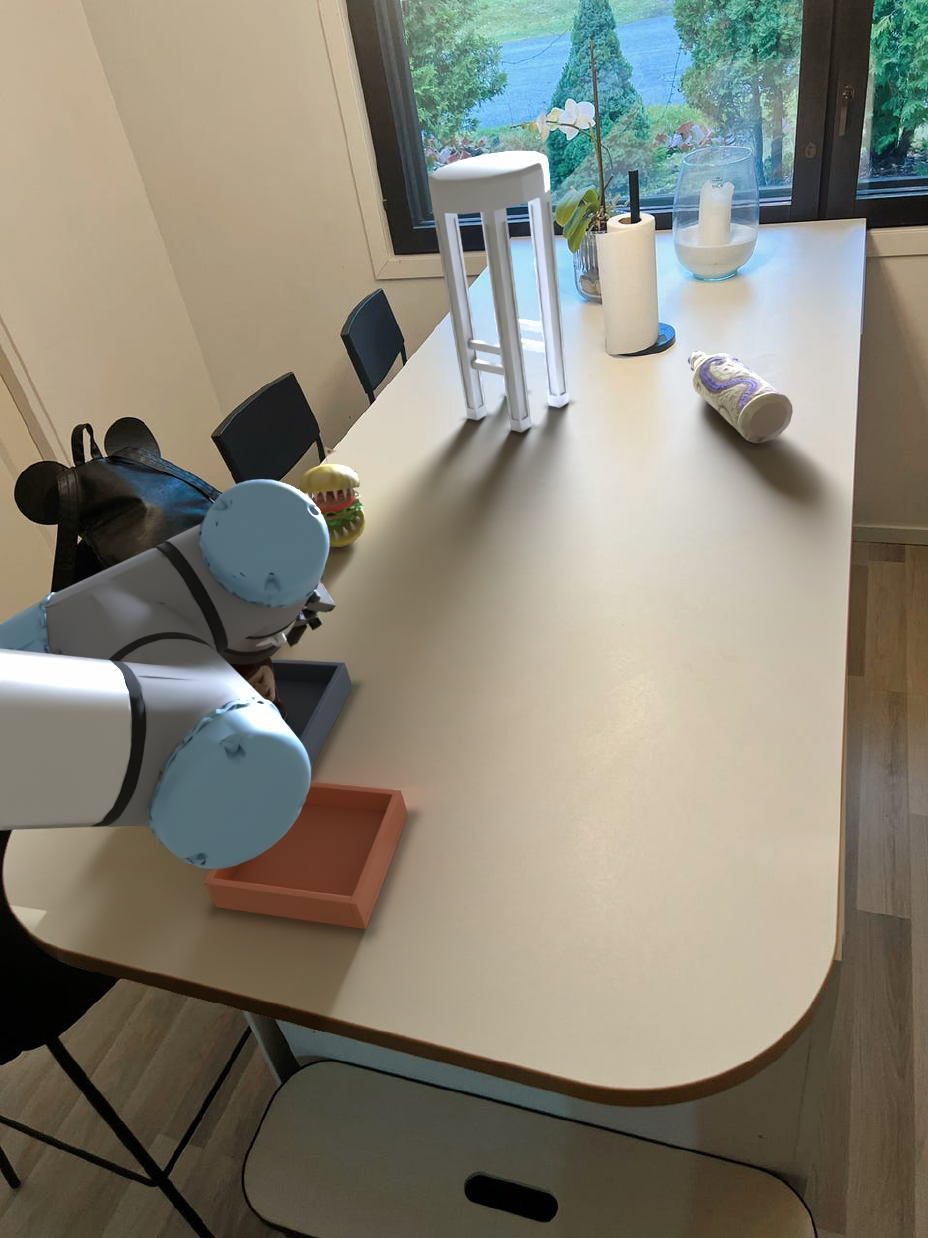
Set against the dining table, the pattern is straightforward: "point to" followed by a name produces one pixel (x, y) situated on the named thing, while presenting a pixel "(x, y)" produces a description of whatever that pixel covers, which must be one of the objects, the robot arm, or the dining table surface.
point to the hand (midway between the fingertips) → (225, 667)
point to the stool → (501, 275)
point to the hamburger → (336, 500)
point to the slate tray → (311, 698)
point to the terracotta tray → (321, 859)
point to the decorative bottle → (740, 396)
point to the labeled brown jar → (262, 681)
